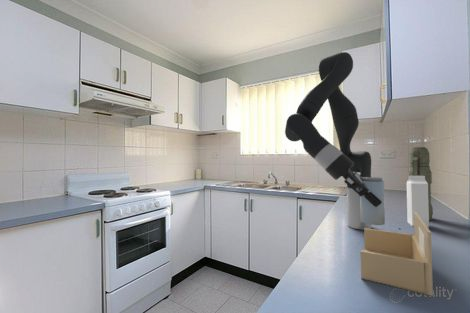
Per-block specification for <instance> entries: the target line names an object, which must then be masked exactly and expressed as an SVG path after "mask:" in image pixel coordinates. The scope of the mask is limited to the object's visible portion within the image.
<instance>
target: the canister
mask: <svg viewBox="0 0 470 313" xmlns="http://www.w3.org/2000/svg"><path fill="white" fill-rule="evenodd" d="M361 180H362V181H363V182H364V183H365V184H366V185H365V186H366V187H367V188H368V189H369V190H370V191H371V192H372V193H373V194H374V195H375V196H376V197H377V198H379V199H380V200H381V202H382V203H381V204H380V205H379V206H377V207H375V206H373V205H372V204H371V203H370V202H369V201H368V200H367V199H366V198H365V197H361V196H360V218H361V222H363V223H366V224H370V225H372V226H383V225H385V223H386V212H385V210H386V208H385V180H383V177H379V176H378V177H377V176H371V177H361ZM361 190H363V188H362V189H361ZM361 190H360V191H361Z"/></svg>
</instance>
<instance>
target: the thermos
mask: <svg viewBox="0 0 470 313" xmlns="http://www.w3.org/2000/svg"><path fill="white" fill-rule="evenodd" d="M407 173H408V177H409V176H425V180H426V182H427V183H428V205H429V221H433V214H434V213H433V212H434V210H433V209H434V208H433V205H432V192H431V191H432V187H431V185H432V183H433V181H432V180H433V179H432V178H433V176H432V174H433V173H432V170H431V167H430V152H429V149H428V147H423V146H422V147H421V146H420V147H412V148H411V149H410V152H409V170H408V172H407Z"/></svg>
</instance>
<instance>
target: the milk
mask: <svg viewBox="0 0 470 313" xmlns="http://www.w3.org/2000/svg"><path fill="white" fill-rule="evenodd" d="M406 212H407V213H406V214H407V215H406V216H407V217H406V218H407V219H406V220H407V221H406V222H407V224H409V225H410V226H411V227H414V212H417V214H418V215H419V216H420V218H421V219H422V220H423V222H424V223H425V225H426V226H427V227H428V229H429V228H430V220H429V205H428V183H427V182H426V180H425V176H409V175H408V179H407V181H406Z"/></svg>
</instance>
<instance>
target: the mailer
mask: <svg viewBox="0 0 470 313" xmlns="http://www.w3.org/2000/svg"><path fill="white" fill-rule="evenodd" d="M363 231H364V232H363V233H364V234H363V235H364V236H363V237H364V250H360V276H361V278H362V279H361V278H360V279H361V280H363V279H366V280H365V281H368V280H370V281H369V282H372V281H374V283H376V282H379V283H378V284H380V283H383V284H382V285H384V284H387V285H386V286H389V285H391V286H390V287H393V286H395V287H394V288H397V287H398V289H401V288H402V289H401V290H406V291H410V292H415V293H419V294H422V295H428V296H431V297H433V296H434V294H433V292H434V289H433V287H434V286H433V283H434V282H433V281H434V280H433V254H432V253H433V252H432V251H433V250H432V248H433V247H432V246H433V245H432V231H431V230H430V229H429V228H428V227H427V226H426V225H425V223H424V222H423V220H422V219H421V218H420V216H419V215H418V214H417V212H414V226H413V231H414V232H413V234H411V233H403V232H396V231H388V230H381V229H375V228H374V229H373V228H371V229H367V228H364V230H363Z"/></svg>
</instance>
